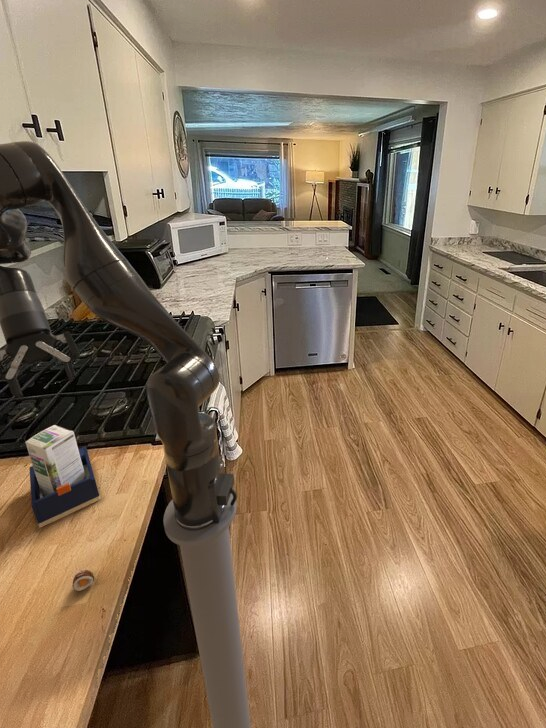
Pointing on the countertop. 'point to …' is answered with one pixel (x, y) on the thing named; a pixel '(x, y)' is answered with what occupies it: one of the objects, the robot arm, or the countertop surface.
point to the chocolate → (82, 580)
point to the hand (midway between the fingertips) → (46, 388)
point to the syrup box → (55, 459)
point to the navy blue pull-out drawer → (64, 495)
